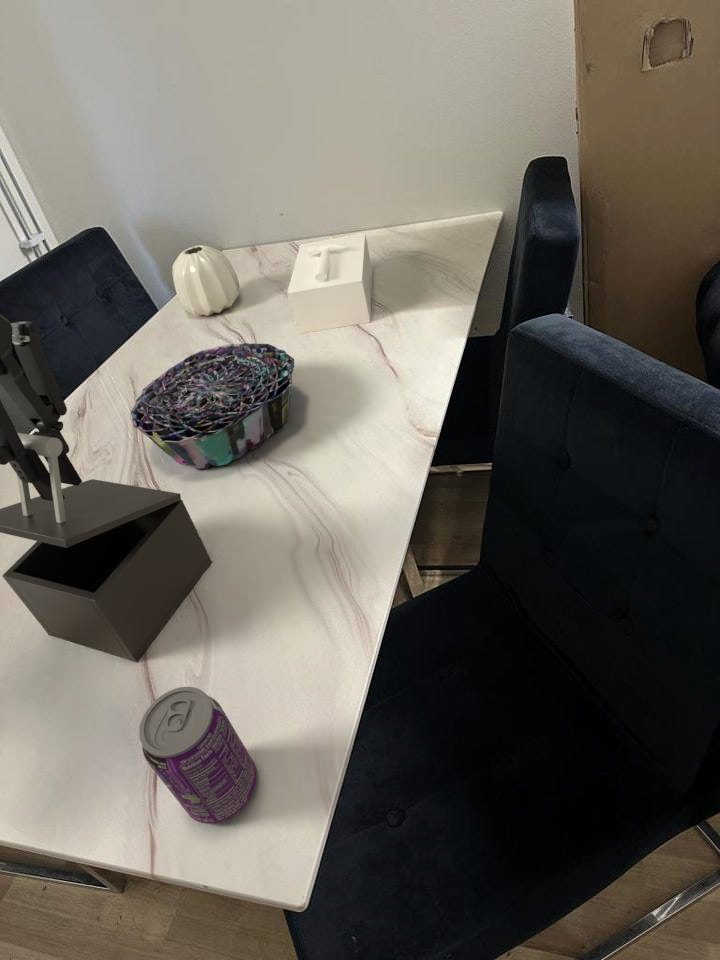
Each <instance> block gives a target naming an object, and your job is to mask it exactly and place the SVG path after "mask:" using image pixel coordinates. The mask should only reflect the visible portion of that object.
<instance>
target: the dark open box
mask: <svg viewBox="0 0 720 960" xmlns="http://www.w3.org/2000/svg"><path fill="white" fill-rule="evenodd" d="M212 563H213V561H212V559H211V557H210V554H209V552H208V550H207V548H206V546H205V544H204V543H203V539H202V538H201V536H200V534H199V531H198V530H197V528H196V525H195V523H194V522H193V519H192V518H191V515H190V513H189V511H188V510H187V506H186V505H185V503H184V501H183V499H181V500H179V501H177V502H175V503H172V504H170V505H167V506H165V507H163V508H160V509H158V510H156V511H153V512H151V513H148V514H146V515H144V516H141V517H139V518H137V519H134V520H132V521H129V522H127V523H125V524H122V525H120V526H117V527H115V528H113V529H110V530H108V531H106V532H103V533H101V534H98V535H96V536H94V537H91V538H89V539H86V540H84V541H82V542H79V543H77V544H75V545H72V546H70V547H67V548H65V547H61V546H57V545H52V544H48V543H44V542H39V541H36V542H34V543H33V545H31V546H30V548H29V549H28V550H26V551H25V552H24V553H23V554H22V555H21V556H20V557H19V558H18V559H17V560H16V561H15V562H14V563H13V564H12V565H11V566H10V567H9V568H8V569H7V570H6V571H5V572H4V573H3V574H2V575H1V576H2V578H3V579H4V580H5V582H6V583H7V585H8V586H9V587H10V588H11V589H12V590H13V592H14V593H15V594H16V596H17V597H18V598H19V599H20V600H21V602H22V603H23V604H24V606H25V607H26V608H27V609H28V611H29V612H30V613H31V614H32V616H33V617H34V618H35V619H36V621H37V622H38V623H39V625H40V626H41V627H42V628H43V630H44V631H45V632H46V633H47V635H48V636H51V637H53V638H54V637H55V638H58V639H61V640H63V641H67V642H71V643H74V644H76V645H80V646H82V647H85V648H89V649H93V650H95V651H99V652H103V653H106V654H108V655H111V656H115V657H118V658H122V659H125V660H128V661H132V662H134V663H138V662H139V661H140V659H141V658H142V657H143V655H144V654H145V653H146V651H147V650H148V649H149V647H150V646H151V645H152V643H153V642H154V640H155V639H156V638H157V637H158V635H159V634H160V633H161V632H162V630H163V628H164V627H165V626H166V624H167V623H168V622H169V621H170V619H171V618H172V617H173V615H174V614H175V612H176V611H177V610H178V608H179V607H180V605H181V604H182V603H183V602H184V600H185V599H186V598H187V596H188V595H189V594H190V592H191V591H192V590H193V588H194V587H195V586H196V584H197V583H198V582H199V580H200V579H201V578H202V576H203V575H204V574H205V572H206V571H207V570H208V568H209V567H210V566H211V564H212Z"/></svg>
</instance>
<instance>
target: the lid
mask: <svg viewBox="0 0 720 960" xmlns="http://www.w3.org/2000/svg"><path fill="white" fill-rule="evenodd" d="M17 433H18V435H19V437H20V439H21V441H22V443H23V445H24V447H25V449H32V450H35V451H36V453H37V454H38V456H39V457H44V456H46V457H47V458H48V463H47V465H48V472H49V473H50V480H51V487H52V494H53V501H49V500H44V499H42V498H41V496H40V495H38V496H36V497H33V498H31V493H30V486H29V483H27V482H24V481H22V480H20V478H19V477H18V475H17V474H16V477H17V485H18V490H19V498H20V502H17V503H14V504H11V505H7V506H5V507H2V508H0V534H4V535H8V536H13V537H18V538H22V539H25V540H26V539H27V540H31V541H36V542H37V541H39V542H44V543H48V544H52V545H57V546H61V547H65V548H67V547H70V546H72V545H75V544H77V543H79V542H82V541H84V540H86V539H89V538H91V537H94V536H96V535H98V534H101V533H103V532H106V531H108V530H110V529H113V528H115V527H117V526H120V525H122V524H125V523H127V522H129V521H132V520H134V519H137V518H139V517H141V516H144V515H146V514H148V513H151V512H153V511H156V510H158V509H160V508H163V507H165V506H167V505H170V504H172V503H175V502H177V501H179V500H182V497H181V493H180V492H173V491H167V490H161V489H155V488H149V487H143V486H136V485H130V484H124V483H118V482H112V481H106V480H101V479H96V478H95V479H94V478H91V479H87V480H84V481H82V482H81V483H80V484H79V485H78V486H76V485H69V486H67V487H64V488H63V487H62V483H61V481H60V473H59V466H58V458H57V456H59V455H60V454H61V452H62V448H63V446H62V442H61V441H60V440H59V439H58V438H53V437H46V436H38V435H32V433H31V434H29V433H23V432H17ZM62 494H63V495H64V497H65V499H64V500H63V495H62Z"/></svg>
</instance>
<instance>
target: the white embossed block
mask: <svg viewBox="0 0 720 960" xmlns="http://www.w3.org/2000/svg"><path fill="white" fill-rule="evenodd" d="M372 287H373V266H372V261H371V256H370V251H369V244H368V240H367V235H366V232H362V233H357V234H356V233H355V234H351V235H345V236H340V237H333V238H329V239H323V240H318V241H312V242H306V243H301V244H299V248H298V251H297V255H296V258H295V263H294V266H293V270H292V274H291V278H290V281H289V285H288V288H287V291H286V295H287V298H288V302H289V305H290V309H291V312H292V316H293V320H294V323H295V327H296V331H297V334H298V335H301V334H307V333H313V332H319V331H325V330H333V329H339V328H344V327H351V326H357V325H363V324H368V323H371V315H372V314H371V311H372V292H373V291H372V289H373V288H372Z"/></svg>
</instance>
